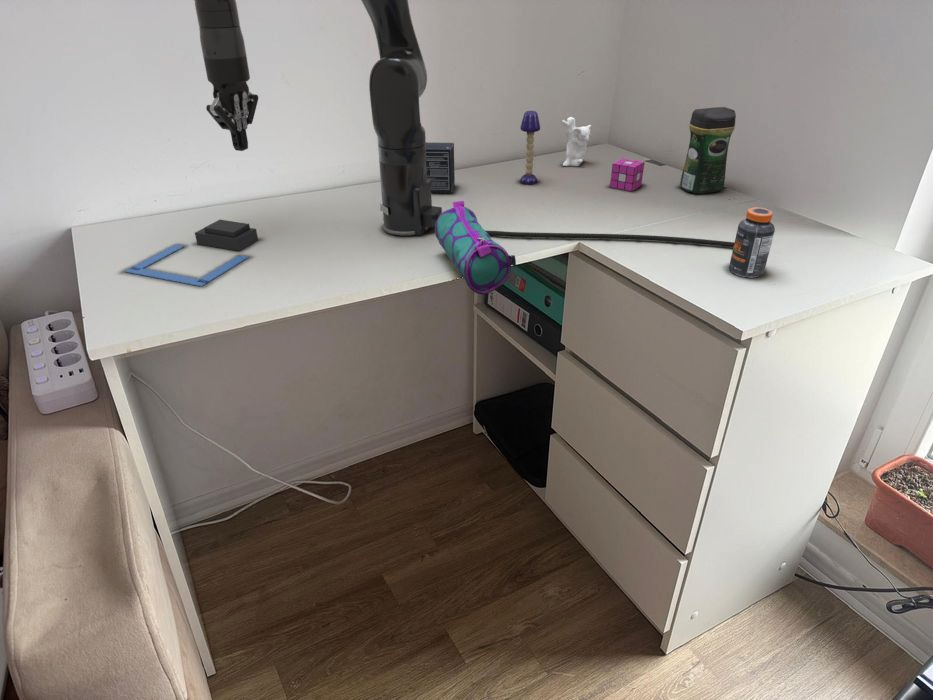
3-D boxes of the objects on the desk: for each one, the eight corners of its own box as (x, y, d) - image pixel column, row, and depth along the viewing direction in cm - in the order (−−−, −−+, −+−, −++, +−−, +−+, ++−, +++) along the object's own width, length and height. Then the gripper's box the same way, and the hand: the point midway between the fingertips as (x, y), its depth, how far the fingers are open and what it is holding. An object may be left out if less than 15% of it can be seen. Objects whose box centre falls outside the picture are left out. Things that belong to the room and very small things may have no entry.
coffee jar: (708, 182, 162) (723, 102, 152) (728, 192, 155) (745, 110, 146) (673, 185, 160) (686, 105, 150) (691, 196, 153) (706, 112, 143)
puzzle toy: (619, 181, 163) (622, 158, 160) (641, 185, 160) (644, 161, 157) (609, 187, 159) (612, 163, 156) (631, 191, 156) (634, 167, 153)
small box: (455, 185, 160) (455, 141, 155) (452, 194, 155) (451, 149, 149) (412, 184, 161) (410, 140, 156) (407, 192, 156) (405, 147, 150)
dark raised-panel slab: (258, 240, 132) (255, 223, 130) (239, 251, 127) (236, 234, 125) (217, 233, 135) (213, 217, 133) (197, 244, 130) (193, 227, 128)
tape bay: (248, 257, 124) (248, 256, 124) (201, 286, 114) (201, 285, 114) (175, 245, 129) (175, 244, 129) (124, 272, 119) (124, 271, 119)
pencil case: (515, 292, 111) (517, 239, 106) (465, 300, 109) (464, 245, 104) (477, 246, 128) (477, 198, 123) (433, 252, 126) (431, 203, 121)
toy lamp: (538, 185, 160) (542, 113, 152) (518, 185, 160) (521, 114, 152) (536, 179, 164) (540, 109, 156) (517, 179, 164) (520, 109, 156)
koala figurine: (561, 168, 172) (565, 121, 166) (554, 161, 178) (557, 115, 171) (592, 167, 173) (597, 119, 167) (584, 159, 179) (589, 113, 172)
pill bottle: (723, 265, 121) (736, 205, 115) (754, 263, 121) (769, 204, 115) (737, 279, 116) (751, 217, 110) (769, 277, 116) (786, 216, 110)
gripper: (217, 60, 114) (236, 160, 123) (263, 50, 125) (277, 143, 134) (182, 57, 116) (203, 156, 126) (230, 48, 127) (246, 139, 136)
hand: (241, 149), depth 130 cm, fingers closed
